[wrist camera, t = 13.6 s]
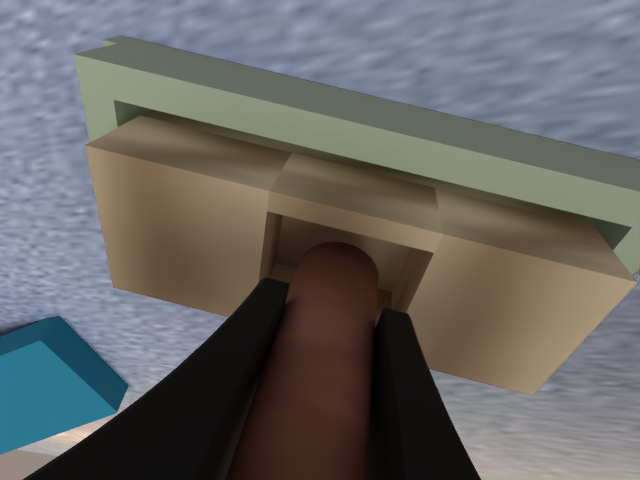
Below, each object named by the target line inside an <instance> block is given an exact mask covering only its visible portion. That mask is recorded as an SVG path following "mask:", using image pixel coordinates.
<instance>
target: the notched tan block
mask: <svg viewBox="0 0 640 480" xmlns="http://www.w3.org/2000/svg"><path fill="white" fill-rule="evenodd" d="M85 147H86V152H87V157H88V162H89V167H90V172H91V177H92V182H93V187H94V193H95V198H96V203H97V208H98V213H99V218H100V223H101V228H102V233H103V238H104V243H105V248H106V253H107V258H108V263H109V268H110V273H111V278H112V283H113V287H114V288H118V289H122V290H126V291H130V292H134V293H137V294H141V295H145V296H149V297H153V298H157V299H161V300H165V301H168V302H172V303H176V304H180V305H184V306H188V307H192V308H195V309H199V310H203V311H207V312H211V313H215V314H219V315H222V316H226V317H230V316H231V315H232V314H233V313H234V311H235V310H236V309H237V308H238V307H239V306H240V305H241V304H242V303H243V301H244V300H245V299H246V298H247V297H248V296H249V294H250V293H251V292H252V291H253V289H254V288H255V287H256V286H257V284H258V283H259V281H260V280H261V279H263V278H265V277H267V278H271V279H274V280H278V281H282V282H286V283H289V288H288V293H287V297H288V294H289V291H290V288H291V285H292V282H293V279H294V276H295V273H296V270H297V267H298V264H299V261H300V259H301V257H302V256H303V254H304V253H305V252H306V251H307V250H309V249H310V248H312V247H313V246H315V245H318V244H321V243H325V242H343V243H347V244H351V245H353V246H356V247H358V248H360V249H361V250H363V251H364V252H366V253H367V254H368V255H369V256H370V257H371V258H372V260H373V261H374V263H375V264H376V267H377V270H378V276H379V277H378V293H377V310H376V325H377V323H378V320H379V318H380V315H381V313H382V310H383V308H388V309H392V310H396V311H400V312H404V313H408V314H409V316H410V318H411V320H412V323H413V326H414V329H415V332H416V335H417V338H418V341H419V344H420V347H421V349H422V352H423V355H424V357H425V360H426V363H427V365H428V368H429V369H431V370H435V371H439V372H443V373H446V374H450V375H454V376H458V377H462V378H466V379H470V380H474V381H477V382H481V383H485V384H489V385H493V386H497V387H501V388H504V389H508V390H512V391H516V392H520V393H524V394H528V395H531V396H532V395H533V394H534V393H535V392H536V391H537V390H538V389H539V388H540V387H541V385H542V384H543V383H544V382H545V381H546V380H547V379H548V378H549V377H550V376H551V375H552V374H553V373H554V372H555V370H556V369H557V368H558V367H559V366H560V365H561V364H562V363H563V362H564V361H565V360H566V359H567V358H568V357H569V356H570V354H571V353H572V352H573V351H574V350H575V349H576V348H577V347H578V346H579V345H580V344H581V343H582V342H583V341H584V339H585V338H586V337H587V336H588V335H589V334H590V333H591V332H592V331H593V330H594V329H595V328H596V327H597V326H598V325H599V323H600V322H601V321H602V320H603V319H604V318H605V317H606V316H607V315H608V314H609V313H610V312H611V311H612V310H613V308H614V307H615V306H616V305H617V304H618V303H619V302H620V301H621V300H622V299H623V298H624V297H625V296H626V295H627V294H628V292H629V291H630V290H631V289H632V288H633V287H634V286H635V285H636V284H637V283H638V282H637V281H636V279H635V278H634V277H633V276H632V274H631V273H630V272H629V271H628V269H627V268H626V267H625V265H624V264H623V263H622V262H621V260H620V259H619V258H618V256H617V255H616V254H615V253H614V251H613V250H612V249H611V247H610V246H609V245H608V244H607V242H606V241H605V240H604V239H603V237H602V236H601V235H600V233H599V232H598V231H597V230H596V228H595V227H594V226H593V224H592V223H591V222H590V221H589V219H588V218H587V217H586V216H584V215H580V214H576V213H572V212H568V211H564V210H560V209H556V208H552V207H548V206H544V205H540V204H536V203H532V202H528V201H523V200H519V199H515V198H511V197H507V196H503V195H499V194H495V193H491V192H487V191H483V190H479V189H475V188H471V187H466V186H462V185H458V184H454V183H450V182H446V181H442V180H438V179H434V178H430V177H426V176H422V175H418V174H414V173H410V172H405V171H401V170H397V169H393V168H389V167H385V166H381V165H377V164H373V163H369V162H365V161H361V160H357V159H353V158H349V157H344V156H340V155H336V154H332V153H328V152H324V151H320V150H316V149H312V148H308V147H304V146H300V145H296V144H292V143H287V142H283V141H279V140H275V139H271V138H267V137H263V136H259V135H255V134H251V133H247V132H243V131H239V130H235V129H231V128H226V127H222V126H218V125H214V124H210V123H206V122H202V121H198V120H194V119H190V118H186V117H182V116H178V115H174V114H169V113H165V112H161V111H157V110H153V109H151V110H149V111H147V112H145V113H144V114H142V115H140V116H138V117H136V118H134V119H133V120H131V121H129V122H127V123H125V124H123V125H121V126H120V127H118V128H116V129H114V130H112V131H110V132H109V133H107V134H105V135H103V136H101V137H99V138H98V139H96V140H94V141H92V142H90V143H88V144H87V145H85ZM286 300H287V299H286ZM375 327H376V326H375Z"/></svg>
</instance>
